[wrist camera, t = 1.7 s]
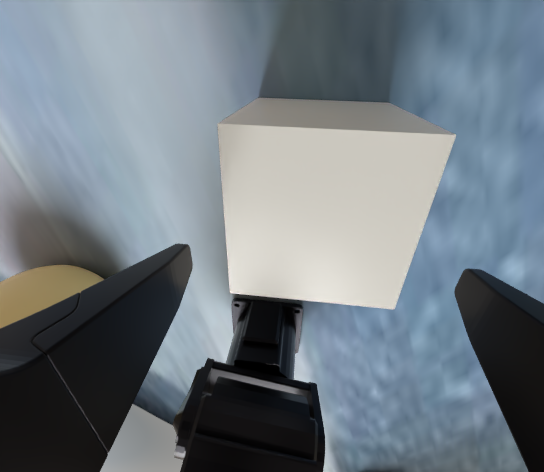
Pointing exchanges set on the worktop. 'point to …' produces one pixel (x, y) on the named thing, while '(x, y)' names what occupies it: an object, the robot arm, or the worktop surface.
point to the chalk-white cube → (326, 197)
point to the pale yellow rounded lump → (41, 290)
